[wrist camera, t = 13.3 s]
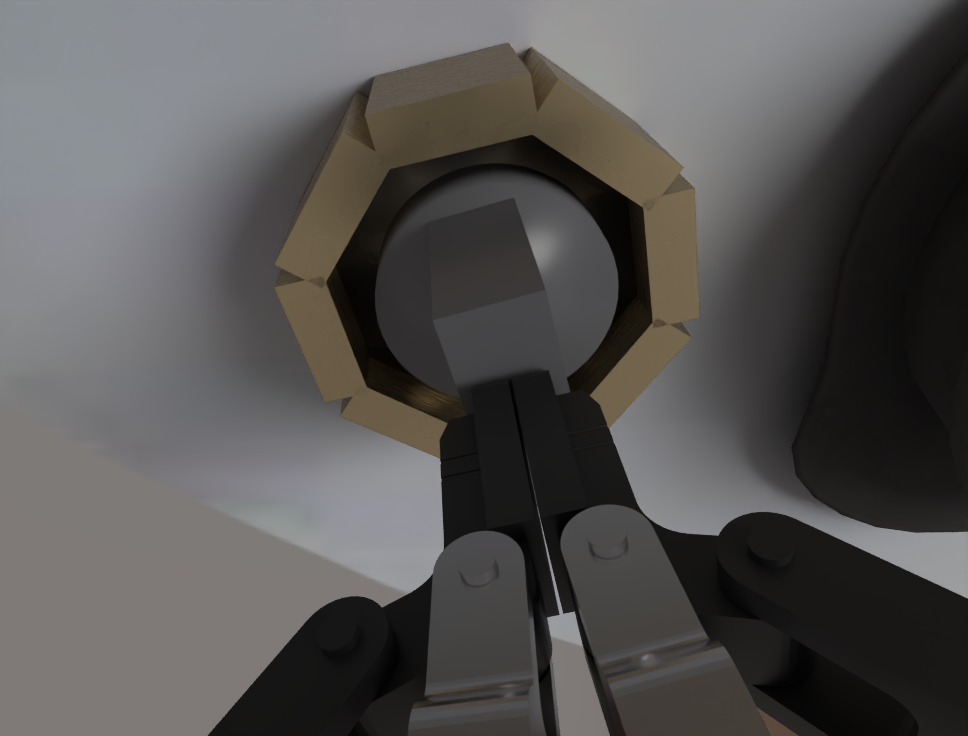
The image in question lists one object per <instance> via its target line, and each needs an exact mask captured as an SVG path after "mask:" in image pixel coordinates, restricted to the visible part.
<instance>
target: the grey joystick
mask: <svg viewBox="0 0 968 736" xmlns="http://www.w3.org/2000/svg"><path fill="white" fill-rule="evenodd" d="M618 286H619V284H618V273H617V267H616V263H615V259H614V256H613V253H612V251H611V249H610V246H609V244H608V242H607V240H606V238H605V237H604V235H603V233H602V232H601V230H600V228H599V226H598V225H597V223H596V221H595V220H594V218H593V216H592V215H591V213H590V211H589V210H588V208H587V207H586V205H585V204H584V203H583V202H582V201H581V199H580V198H579V197H578V196H577V195H576V194H575V193H574V192H573V191H572V190H570V189H569V188H568V187H567V186H566V185H564V184H563V183H561V182H560V181H558V180H557V179H555V178H553V177H551V176H549V175H547V174H545V173H543V172H541V171H538V170H535V169H532V168H529V167H525V166H520V165H514V164H505V163H488V164H477V165H473V166H468V167H464V168H460V169H457V170H455V171H452V172H449V173H446V174H444V175H442V176H440V177H439V178H437V179H435V180H433V181H431V182H430V183H428V184H427V185H425V186H424V187H422V188H421V189H420V190H418V191H417V192H416V193H415V194H414V195H413V196H412V197H411V198H410V199H408V200H407V202H406V203H405V204H404V205H403V206H402V208H401V209H400V210H399V211H398V212H397V214H396V216H395V217H394V219H393V220H392V222H391V224H390V225H389V227H388V230H387V232H386V234H385V237H384V239H383V243H382V246H381V250H380V254H379V262H378V271H377V280H376V289H375V309H376V314H377V320H378V324H379V327H380V330H381V333H382V336H383V338H384V340H385V342H386V344H387V346H388V347H389V349H390V350H391V352H392V353H393V355H394V356H395V358H396V359H397V360H398V361H399V362H400V363H401V364H402V365H403V367H404V368H405V369H406V370H408V371H409V372H410V373H411V374H412V375H413V376H415V377H416V378H417V379H419V380H420V381H422V382H424V383H425V384H427V385H428V386H430V387H432V388H434V389H437V390H439V391H441V392H444V393H446V394H449V395H452V396H456V397H460V399H461V401H462V404H463V407H464V410H465V413H466V415H472V414H474V412H473V403H472V394H471V387H475V386H480V385H484V384H489V383H493V382H497V381H502V380H506V379H508V380H509V384H510V389H511V393H512V397H513V401H514V405H515V409H516V414H517V418H518V422H519V426H520V430H521V434H522V439H523V443H524V447H525V442H524V437H523V432H522V427H521V423H520V418H519V413H518V408H517V403H516V399H515V394H514V389H513V384H512V379H511V378H514V377H519V376H523V375H528V374H532V373H537V372H541V371H545V370H549V373H550V376H551V379H552V383H553V386H554V390H555V393H556V395H561V394H565V393H569V392H570V390H569V385H568V381H567V377H568V376H570V375H571V374H572V373H574V372H575V371H576V370H578V369H579V368H580V367H581V366H582V365H583V364H584V363H585V362H586V361H587V360H588V359H589V358H590V357H591V356H592V354H593V353H594V352H595V351H596V350H597V348H598V347H599V345H600V344H601V342H602V341H603V339H604V338H605V336H606V334H607V332H608V330H609V328H610V325H611V323H612V320H613V317H614V314H615V310H616V305H617V300H618ZM525 451H526V447H525ZM526 456H527V452H526ZM527 460H528V456H527ZM528 465H529V461H528ZM529 469H530V466H529ZM530 474H531V471H530ZM531 479H532V476H531ZM532 484H533V481H532ZM533 489H534V485H533ZM534 494H535V490H534ZM535 499H536V495H535ZM536 503H537V500H536ZM537 507H538V505H537Z"/></svg>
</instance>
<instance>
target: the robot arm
mask: <svg viewBox="0 0 968 736" xmlns="http://www.w3.org/2000/svg"><path fill="white" fill-rule="evenodd" d="M511 379H512V384H513V389H514V394H515V399H516V403H517V408H518V413H519V418H520V423H521V427H522V432H523V437H524V442H525V447H526V451H525V447H524V443H523V439H522V434H521V430H520V426H519V422H518V418H517V414H516V409H515V405H514V401H513V397H512V393H511V389H510V384H509V380H508V379H506V380H502V381H497V382H493V383H489V384H484V385H480V386H475V387H471V394H472V403H473V412H474V414H472V415H467V416H463V417H458V418H454V419H450V420H449V421H448V423H447V426H446V428H445V430H444V432H443V434H442V436H441V438H440V440H439V442H440V461H441V479H442V482H441V485H442V507H443V529H444V550H443V552H442V553H441V554H440V556H439V557H438V559H437V561H436V563H435V566H434V570H433V574H432V575H431V577H430V578H429V579H428V580H427V581H426V582H425V583H424V584H423V585H421V586H420V587H419V588H417V589H416V590H414V591H413V592H411V593H409V594H407V595H406V596H404V597H402V598H400V599H398V600H396V601H394V602H392V603H390V604H388V605H387V606H385V607H383V608H382V607H381V606H380V605H378V603H376V602H375V601H373V600H371V599H368V598H365V597H358V596H354V597H353V596H351V597H345V598H341V599H338V600H335V601H333V602H331V603H329V604H327V605H325V606H324V607H322V608H320V609H319V610H318V611H317V612H315V613H314V614H313V615H312V616H311V617H310V618H309V619H308V620H307V621H306V622H305V624H304V625H303V626H302V627H301V628H300V630H299V631H298V632H297V633H296V634H295V635H294V636H293V637H292V639H291V640H290V641H289V642H288V643H287V644H286V646H285V647H284V648H283V649H282V650H281V651H280V653H279V654H278V655H277V656H276V657H275V658H274V660H273V661H272V662H271V663H270V664H269V665H268V666H267V668H266V669H265V670H264V671H263V672H262V673H261V675H260V676H259V677H258V678H257V679H256V680H255V681H254V683H253V684H252V685H251V686H250V687H249V688H248V690H247V691H246V692H245V693H244V694H243V695H242V697H241V698H240V699H239V700H238V701H237V702H236V703H235V705H234V706H233V707H232V708H231V709H230V710H229V712H228V713H227V714H226V715H225V717H223V718H222V720H221V721H220V722H219V723H218V724H217V725H216V727H215V728H214V729H213V730H212V731H211V732H210V734H209V735H208V736H560V727H559V718H558V707H557V698H556V689H555V678H554V668H553V662H552V657H551V656H552V642H551V637H550V631H549V626H548V620H547V617H551V616H556V615H559V610H558V605H557V601H556V596H555V591H554V586H553V581H552V576H551V571H550V567H549V562H548V557H547V552H546V547H545V542H544V537H543V533H542V528H541V523H542V527H543V531H544V535H545V540H546V544H547V548H548V552H549V556H550V560H551V564H552V569H553V573H554V577H555V581H556V585H557V589H558V593H559V598H560V602H561V606H562V610H563V614H564V613H569V612H574V611H575V614H576V619H577V623H578V627H579V632H580V636H581V640H582V644H583V649H584V653H585V658H586V661H587V664H588V668H589V671H590V674H591V677H592V680H593V683H594V687H595V690H596V693H597V696H598V699H599V702H600V706H601V709H602V712H603V715H604V718H605V721H606V725H607V728H608V731H609V734H610V736H771V734H770V732H769V730H768V728H767V726H766V724H765V722H764V720H763V718H762V716H761V714H760V712H759V710H758V709H757V707H758V708H759V709H761V710H762V711H764V712H765V713H766V714H768V715H769V716H771V717H772V718H774V719H775V720H777V721H778V722H780V723H781V724H783V725H784V726H786V727H787V728H788V729H790V730H791V731H793V732H794V733H796V734H797V735H799V736H968V599H967V598H965V597H963V596H961V595H959V594H956V593H954V592H952V591H950V590H948V589H946V588H944V587H941V586H939V585H937V584H935V583H933V582H931V581H928V580H926V579H924V578H922V577H920V576H918V575H915V574H913V573H911V572H909V571H907V570H905V569H902V568H900V567H898V566H896V565H894V564H892V563H889V562H887V561H885V560H883V559H881V558H879V557H876V556H874V555H872V554H870V553H868V552H866V551H864V550H861V549H859V548H857V547H855V546H853V545H851V544H848V543H846V542H844V541H842V540H840V539H838V538H835V537H833V536H831V535H829V534H827V533H825V532H822V531H820V530H818V529H816V528H814V527H812V526H809V525H807V524H805V523H803V522H801V521H799V520H797V519H794V518H792V517H789V516H786V515H782V514H778V513H771V512H756V513H749V514H746V515H742V516H740V517H737V518H735V519H734V520H732V521H731V522H729V523H728V524H727V525H726V526H725V527H724V528H723V529H722V531H721V532H720V534H719V536H715V535H698V534H686V533H679V532H675V531H671V530H669V529H666V528H663V527H661V526H660V525H658V524H656V523H654V522H653V521H652V520H650V519H649V518H648V517H647V516H646V515H645V514H644V513H643V512H642V511H641V509H640V508H639V506H638V504H637V502H636V499H635V497H634V494H633V491H632V489H631V486H630V483H629V481H628V478H627V475H626V473H625V470H624V467H623V465H622V462H621V459H620V457H619V454H618V452H617V449H616V446H615V444H614V442H613V438H612V436H611V433H610V430H609V428H608V426H607V422H606V420H605V417H604V414H603V412H602V409H601V406H600V404H599V403H598V402H596V401H595V400H594V399H593V398H592V397H590V396H589V395H588V394H587V393H586V392H584V391H583V390H578V391H574V392H569V393H565V394H561V395H556V393H555V390H554V386H553V383H552V379H551V376H550V373H549V370H545V371H541V372H537V373H532V374H528V375H523V376H519V377H514V378H511ZM526 452H527V456H528V460H527V456H526ZM528 461H529V465H528ZM529 466H530V469H529ZM530 471H531V474H530ZM531 476H532V479H531ZM532 481H533V484H532ZM533 485H534V489H533ZM534 490H535V494H534ZM535 495H536V499H535ZM536 500H537V503H536ZM537 505H538V508H537ZM538 510H539V513H538ZM539 514H540V518H539ZM540 519H541V523H540Z"/></svg>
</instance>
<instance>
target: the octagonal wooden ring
mask: <svg viewBox="0 0 968 736" xmlns="http://www.w3.org/2000/svg"><path fill="white" fill-rule="evenodd" d="M488 163H505V164H514V165H520V166H525V167H529V168H532V169H535V170H538V171H541V172H543V173H545V174H547V175H549V176H551V177H553V178H555V179H557V180H558V181H560V182H561V183H563V184H564V185H566V186H567V187H568V188H569V189H570V190H572V191H573V192H574V193H575V194H576V195H577V196H578V197H579V198H580V199H581V201H582V202H583V203H584V204H585V205H586V207H587V208H588V210H589V211H590V213H591V215H592V216H593V218H594V220H595V221H596V223H597V225H598V226H599V228H600V230H601V232H602V233H603V235H604V237H605V238H606V240H607V242H608V244H609V246H610V249H611V251H612V253H613V256H614V259H615V263H616V267H617V273H618V284H619V286H618V300H617V305H616V310H615V314H614V317H613V320H612V323H611V325H610V328H609V330H608V332H607V334H606V336H605V338H604V339H603V341H602V342H601V344H600V345H599V347H598V348H597V350H596V351H595V352H594V353H593V354H592V356H591V357H590V358H589V359H588V360H587V361H586V362H585V363H584V364H583V365H582V366H581V367H580V368H579V369H578V370H576V371H575V372H574V373H572V374H571V375H570V376H568V377H567V381H568V385H569V390H570V392H574V391H578V390H583V391H584V392H586V393H587V394H588V395H589V396H590V397H592V398H593V399H594V400H595V401H596V402H598V403H599V404H600V406H601V409H602V412H603V414H604V417H605V420H606V422H607V426H608V428H610V427H611V426H612V424H613V423H614V422H615V421H616V420H617V419H618V418H619V417H620V416H621V415H622V413H623V412H624V411H625V410H626V409H627V408H628V407H629V406H630V405H631V404H632V402H633V401H634V400H635V399H636V398H637V397H638V396H639V395H640V394H641V393H642V391H643V390H644V389H645V388H646V387H647V386H648V385H649V384H650V383H651V382H652V380H653V379H654V378H655V377H656V376H657V375H658V374H659V373H660V372H661V370H662V369H663V368H664V367H665V366H666V365H667V364H668V363H669V362H670V361H671V359H672V358H673V357H674V356H675V355H676V354H677V353H678V352H679V351H680V350H681V348H682V347H683V346H684V345H685V344H686V343H687V342H688V341H689V340H690V339H691V336H690V334H689V333H688V331H687V330H686V328H685V327H684V325H683V324H682V322H683V321H688V320H692V319H697V318H699V292H698V265H697V238H696V211H695V188H694V187H693V186H692V185H691V184H690V183H689V182H688V181H687V180H686V179H685V178H684V177H683V176H682V175H681V174H680V172H681V170H682V169H683V168H684V167H683V166H682V165H681V164H680V163H679V162H678V161H676V160H675V159H674V158H673V157H672V156H671V155H670V154H669V153H668V152H667V151H666V150H665V149H664V148H663V147H662V146H661V145H660V144H658V143H657V142H656V141H655V140H654V139H653V138H652V137H651V136H650V135H649V134H648V133H647V132H646V131H645V130H644V129H643V128H642V127H640V126H639V125H638V124H637V123H636V122H635V121H634V120H632V119H631V118H629V117H628V116H627V115H625V114H624V113H622V112H621V111H620V110H618V109H617V108H616V107H614V106H613V105H611V104H610V103H609V102H607V101H606V100H604V99H603V98H602V97H600V96H599V95H597V94H596V93H595V92H593V91H592V90H590V89H589V88H588V87H586V86H585V85H583V84H582V83H581V82H579V81H578V80H576V79H575V78H574V77H572V76H571V75H570V74H568V73H567V72H565V71H564V70H563V69H561V68H560V67H558V66H557V65H556V64H554V63H553V62H551V61H550V60H549V59H547V58H546V57H544V56H543V55H542V54H540V53H539V52H537V51H536V50H535V49H533V48H532V47H531V48H530V50H529V52H528V53H527V55H526V57H525V58H524V60H523V61H521V59H520V58H519V57H518V55H517V54H516V52H515V51H514V50H513V48H512V47H511V45H510V44H509V43H506V44H502V45H498V46H494V47H490V48H486V49H482V50H478V51H474V52H470V53H466V54H462V55H458V56H454V57H450V58H446V59H442V60H438V61H434V62H430V63H426V64H422V65H418V66H414V67H410V68H406V69H402V70H398V71H394V72H390V73H386V74H382V75H378V76H375V77H374V81H373V84H372V88H371V92H370V96H369V98H368V97H366V96H364V95H363V94H361V93H360V92H358V91H356V93H355V95H354V97H353V99H352V101H351V103H350V105H349V107H348V109H347V111H346V113H345V115H344V117H343V119H342V121H341V123H340V125H339V126H338V128H337V130H336V132H335V134H334V136H333V138H332V140H331V142H330V144H329V146H328V148H327V150H326V152H325V154H324V156H323V158H322V160H321V162H320V164H319V166H318V168H317V170H316V172H315V174H314V176H313V178H312V179H311V181H310V183H309V185H308V187H307V189H306V191H305V193H304V195H303V197H302V199H301V201H300V203H299V205H298V208H297V210H296V213H295V215H294V218H293V220H292V223H291V225H290V228H289V230H288V232H287V235H286V237H285V240H284V242H283V245H282V247H281V250H280V252H279V255H278V257H277V259H276V262H275V264H274V265H276V266H278V267H280V268H281V271H280V273H279V276H278V279H277V281H276V284H275V286H274V289H275V291H276V293H277V295H278V298H279V300H280V302H281V304H282V307H283V309H284V311H285V313H286V316H287V318H288V320H289V322H290V325H291V327H292V329H293V332H294V334H295V336H296V338H297V341H298V343H299V345H300V347H301V350H302V352H303V354H304V356H305V359H306V361H307V363H308V365H309V368H310V370H311V372H312V374H313V377H314V379H315V381H316V383H317V386H318V388H319V390H320V392H321V395H322V397H323V399H324V401H325V402H329V401H334V400H338V399H343V401H342V407H341V414H340V417H343V418H345V419H347V420H350V421H352V422H355V423H357V424H359V425H362V426H364V427H366V428H369V429H371V430H374V431H376V432H378V433H381V434H383V435H385V436H388V437H390V438H393V439H395V440H397V441H400V442H402V443H404V444H407V445H409V446H412V447H414V448H416V449H419V450H421V451H423V452H426V453H428V454H431V455H433V456H435V457H438V458H440V442H439V440H440V438H441V436H442V434H443V432H444V430H445V428H446V426H447V423H448V421H449V420H450V419H454V418H458V417H463V416H467V415H466V413H465V410H464V407H463V404H462V401H461V399H460V397H456V396H452V395H449V394H446V393H444V392H441V391H439V390H437V389H434V388H432V387H430V386H428V385H427V384H425V383H424V382H422V381H420V380H419V379H417V378H416V377H415V376H413V375H412V374H411V373H410V372H409V371H408V370H406V369H405V368H404V367H403V365H402V364H401V363H400V362H399V361H398V360H397V359H396V358H395V356H394V355H393V353H392V352H391V350H390V349H389V347H388V346H387V344H386V342H385V340H384V338H383V336H382V333H381V330H380V327H379V324H378V320H377V314H376V309H375V289H376V280H377V271H378V262H379V254H380V250H381V246H382V243H383V239H384V237H385V234H386V232H387V230H388V227H389V225H390V224H391V222H392V220H393V219H394V217H395V216H396V214H397V212H398V211H399V210H400V209H401V208H402V206H403V205H404V204H405V203H406V202H407V200H408V199H410V198H411V197H412V196H413V195H414V194H415V193H416V192H417V191H418V190H420V189H421V188H422V187H424V186H425V185H427V184H428V183H430V182H431V181H433V180H435V179H437V178H439V177H440V176H442V175H444V174H446V173H449V172H452V171H455V170H457V169H460V168H464V167H468V166H473V165H477V164H488Z"/></svg>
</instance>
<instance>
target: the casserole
mask: <svg viewBox="0 0 968 736" xmlns="http://www.w3.org/2000/svg"><path fill="white" fill-rule="evenodd" d="M792 453H793V459H794V465H795V471H796V476H797V477H798V478H799V480H800V481H801V482H802V483H803V484H804V485H805V487H806V488H807V489H808V490H809V491H810V493H811V494H812V495H813V496H814V497H815V498H816V499H818V500H819V501H821V502H823V503H824V504H826V505H827V506H829V507H830V508H832V509H834V510H835V511H837V512H838V513H840V514H841V515H844V516H847V517H849V518H852V519H855V520H858V521H861V522H864V523H866V524H869V525H872V526H875V527H879V528H887V529H894V530H901V531H908V532H916V533H920V532H968V53H967V54H966V55H965V56H964V57H963V58H961V59H960V60H959V62H958V63H957V64H956V65H955V67H954V68H953V69H952V71H951V72H950V73H949V74H948V76H947V77H946V78H945V79H944V81H943V82H942V83H941V85H940V86H939V87H938V88H937V90H936V91H935V92H934V93H933V95H932V96H931V97H930V99H929V100H928V101H927V102H926V104H925V105H924V106H923V107H922V109H921V110H920V111H919V112H918V114H917V115H916V116H915V118H914V119H913V120H912V121H911V123H910V124H909V125H908V126H907V128H906V129H905V130H904V132H903V134H902V135H901V137H900V139H899V141H898V142H897V144H896V146H895V147H894V149H893V151H892V153H891V154H890V156H889V158H888V159H887V161H886V163H885V165H884V166H883V168H882V170H881V172H880V173H879V175H878V177H877V178H876V180H875V182H874V184H873V185H872V187H871V189H870V190H869V192H868V194H867V196H866V197H865V200H864V202H863V205H862V207H861V210H860V213H859V215H858V218H857V220H856V223H855V226H854V228H853V231H852V233H851V236H850V238H849V241H848V244H847V246H846V249H845V251H844V254H843V257H842V259H841V264H840V270H839V275H838V281H837V287H836V293H835V298H834V304H833V310H832V316H831V322H830V328H829V334H828V340H827V346H826V352H825V358H824V363H823V366H822V369H821V371H820V374H819V377H818V379H817V382H816V384H815V387H814V390H813V392H812V395H811V398H810V400H809V403H808V406H807V408H806V411H805V413H804V416H803V419H802V421H801V424H800V427H799V429H798V432H797V435H796V437H795V440H794V443H793V445H792Z"/></svg>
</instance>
